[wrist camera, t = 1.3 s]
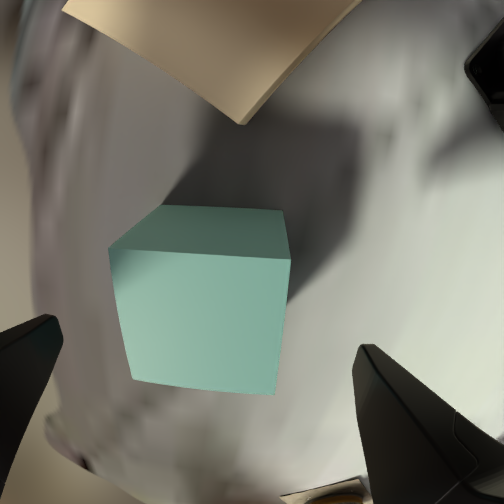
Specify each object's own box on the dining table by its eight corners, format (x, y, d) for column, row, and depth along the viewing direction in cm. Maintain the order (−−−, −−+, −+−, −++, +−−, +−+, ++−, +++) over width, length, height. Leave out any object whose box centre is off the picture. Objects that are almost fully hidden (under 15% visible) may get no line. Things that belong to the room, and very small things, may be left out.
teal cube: (282, 210, 13) (291, 259, 8) (273, 315, 15) (274, 395, 10) (161, 204, 13) (108, 248, 8) (167, 307, 15) (132, 379, 10)
